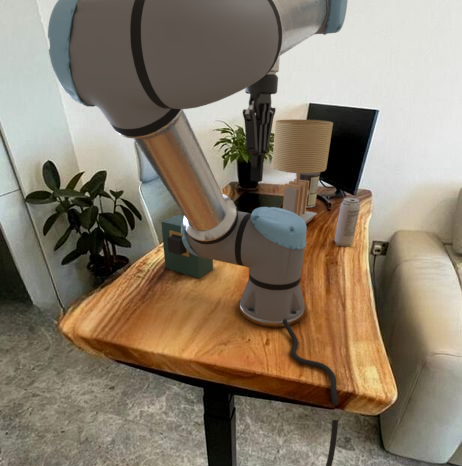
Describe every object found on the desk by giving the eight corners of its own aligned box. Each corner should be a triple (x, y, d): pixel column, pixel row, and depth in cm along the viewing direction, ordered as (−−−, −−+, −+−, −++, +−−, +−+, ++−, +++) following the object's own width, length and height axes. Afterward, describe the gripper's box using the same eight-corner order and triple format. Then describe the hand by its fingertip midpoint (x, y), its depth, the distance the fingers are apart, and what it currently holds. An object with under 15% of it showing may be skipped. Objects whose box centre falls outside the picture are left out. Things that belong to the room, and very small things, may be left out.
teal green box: (198, 279, 97) (196, 230, 90) (164, 268, 102) (160, 221, 95) (213, 269, 102) (212, 222, 95) (180, 259, 107) (177, 214, 100)
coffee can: (296, 208, 154) (299, 174, 147) (290, 201, 163) (293, 169, 156) (318, 207, 156) (323, 174, 148) (311, 201, 164) (315, 169, 157)
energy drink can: (345, 239, 124) (353, 196, 116) (355, 245, 119) (365, 201, 111) (330, 241, 122) (337, 197, 114) (340, 247, 117) (349, 203, 109)
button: (180, 255, 93) (179, 241, 91) (168, 251, 95) (167, 237, 93) (191, 248, 97) (190, 235, 95) (180, 245, 99) (179, 232, 97)
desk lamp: (307, 233, 128) (321, 125, 110) (259, 223, 137) (265, 122, 118) (325, 219, 142) (340, 121, 124) (280, 210, 151) (289, 118, 133)
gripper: (260, 74, 86) (255, 174, 99) (233, 72, 77) (231, 183, 89) (288, 74, 83) (279, 178, 95) (263, 72, 74) (257, 187, 86)
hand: (256, 180), depth 92 cm, fingers closed
